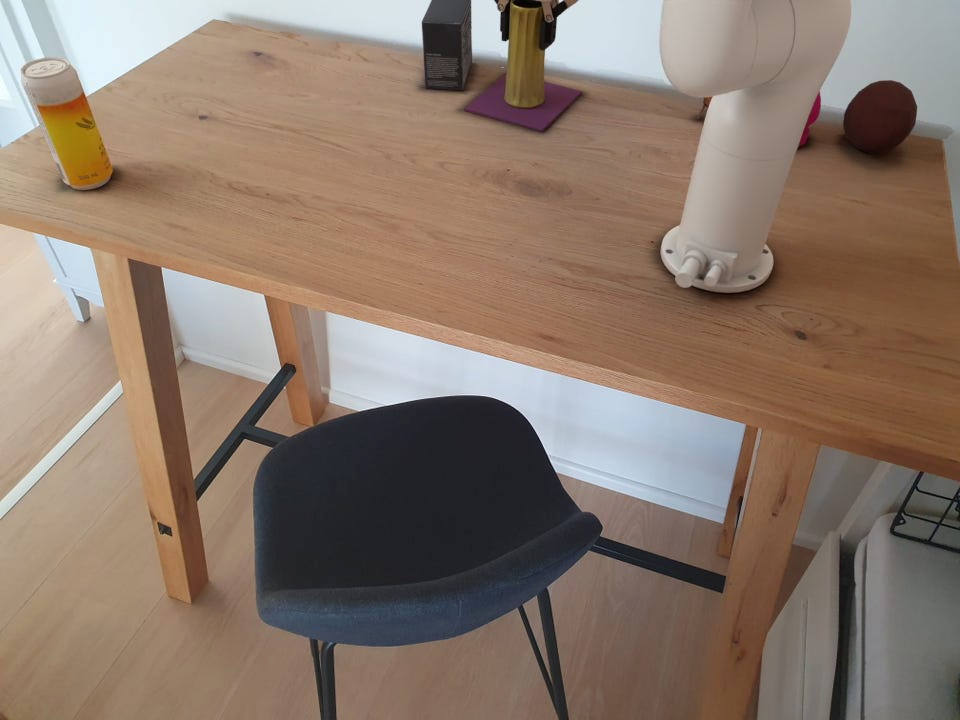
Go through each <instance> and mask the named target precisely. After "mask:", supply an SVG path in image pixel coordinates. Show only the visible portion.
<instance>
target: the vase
mask: <svg viewBox="0 0 960 720" xmlns="http://www.w3.org/2000/svg"><path fill="white" fill-rule="evenodd" d="M543 20H544V12H543V7H542V2H541V1H536V0H511V2H510V26H509V40H508V45H507V60H506V61H507V63H506V74H507V75H506V89H505V95H504V100H505V101H506V102H507V103H508V104H509V105H511V106H514V107H517V108H533V107H537V106H539V105H541V104H542V103H543V102H544V99H545V98H544V82H545V58H546V49H545V50H544V51H543V50H540V48H539V42H540V27H541V22H542V21H543Z"/></svg>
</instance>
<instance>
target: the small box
mask: <svg viewBox="0 0 960 720" xmlns="http://www.w3.org/2000/svg"><path fill="white" fill-rule="evenodd" d="M472 23H473V22H472V0H430V2H429V5H428V7H427V9H426V11H425V14H424V16H423V18H422V20H421V37H422V50H423V51H422V56H423V72H424V73H423V75H424V88H425V89H428V90H429V89H432V90H443V91H444V90H445V91H460V92H462V91H464V89H465V87H466V83H467V80H468V77H469V74H470V72H471V69H472V68H471V67H472V65H473V39H472V37H473V36H472V30H473V29H472V27H473V26H472Z"/></svg>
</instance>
